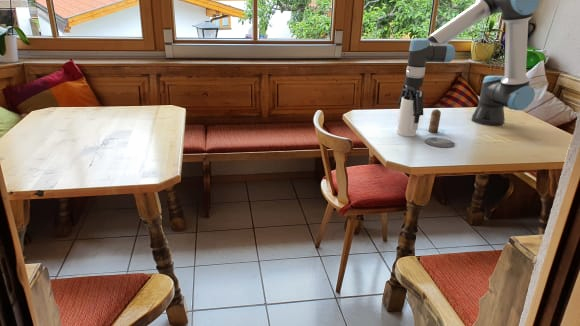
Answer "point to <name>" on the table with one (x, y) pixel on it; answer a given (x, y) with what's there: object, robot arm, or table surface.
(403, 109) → the cup
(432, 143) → the coaster
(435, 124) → the pepper mill
